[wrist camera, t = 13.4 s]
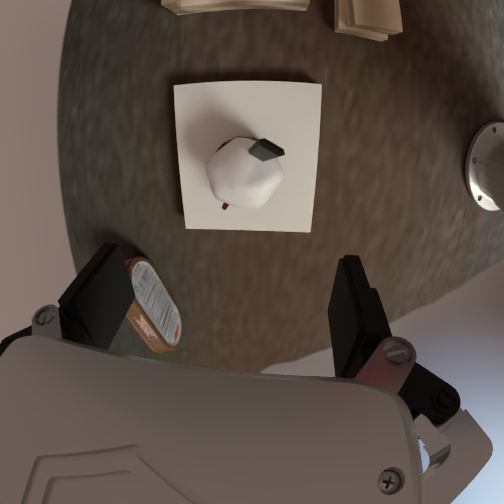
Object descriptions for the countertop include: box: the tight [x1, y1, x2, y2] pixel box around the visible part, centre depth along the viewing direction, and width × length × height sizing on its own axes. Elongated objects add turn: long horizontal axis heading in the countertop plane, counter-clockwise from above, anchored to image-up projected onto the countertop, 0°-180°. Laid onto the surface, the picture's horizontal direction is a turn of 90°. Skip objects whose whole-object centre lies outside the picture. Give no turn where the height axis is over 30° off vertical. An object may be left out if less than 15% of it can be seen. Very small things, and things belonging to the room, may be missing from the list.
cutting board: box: [174, 81, 322, 232], centre depth 28 cm, size 14×16×2 cm
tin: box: [125, 256, 183, 353], centre depth 36 cm, size 15×3×8 cm, turn 17°
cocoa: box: [206, 136, 285, 210], centre depth 22 cm, size 10×6×12 cm, turn 129°
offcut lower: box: [334, 0, 388, 42], centre depth 17 cm, size 5×8×2 cm, turn 178°
